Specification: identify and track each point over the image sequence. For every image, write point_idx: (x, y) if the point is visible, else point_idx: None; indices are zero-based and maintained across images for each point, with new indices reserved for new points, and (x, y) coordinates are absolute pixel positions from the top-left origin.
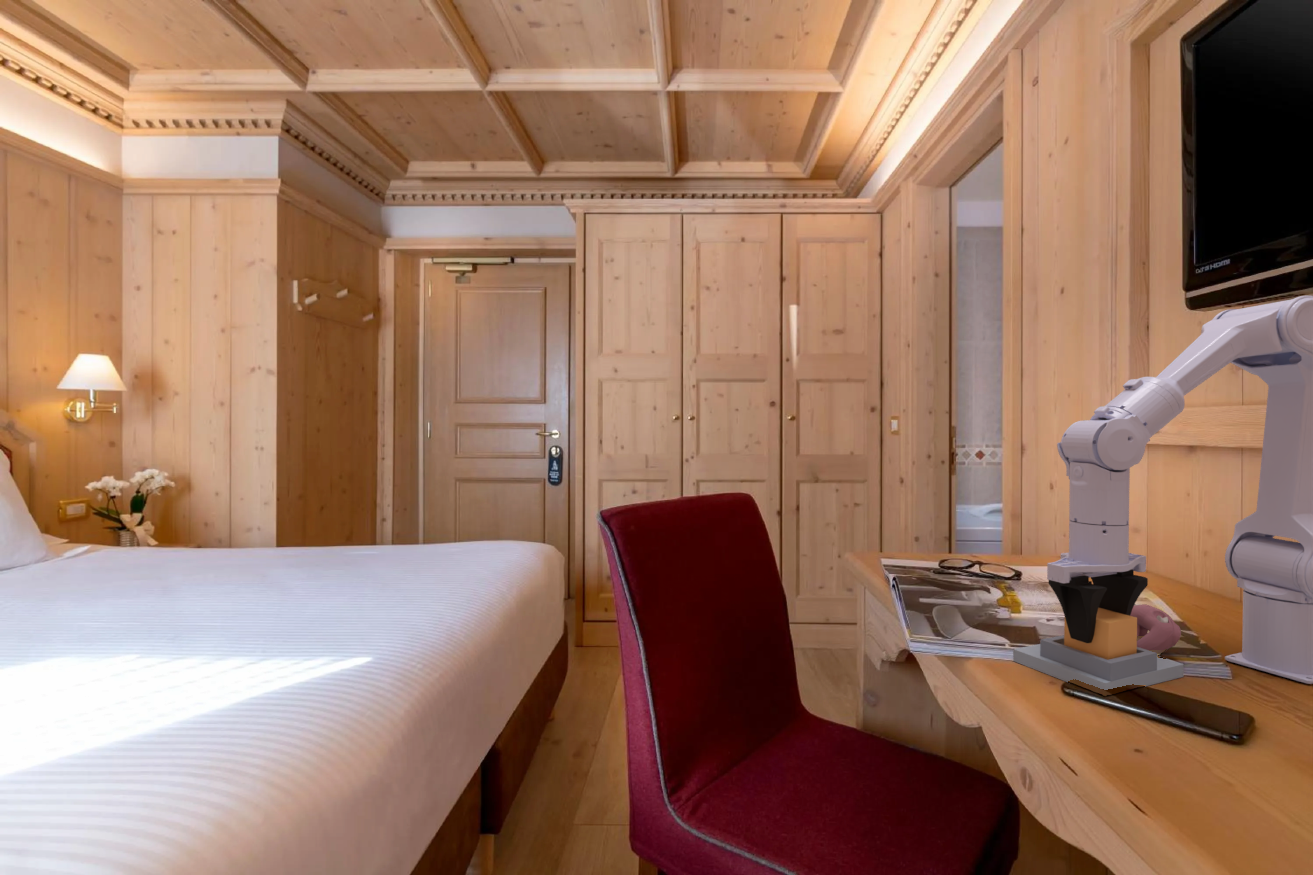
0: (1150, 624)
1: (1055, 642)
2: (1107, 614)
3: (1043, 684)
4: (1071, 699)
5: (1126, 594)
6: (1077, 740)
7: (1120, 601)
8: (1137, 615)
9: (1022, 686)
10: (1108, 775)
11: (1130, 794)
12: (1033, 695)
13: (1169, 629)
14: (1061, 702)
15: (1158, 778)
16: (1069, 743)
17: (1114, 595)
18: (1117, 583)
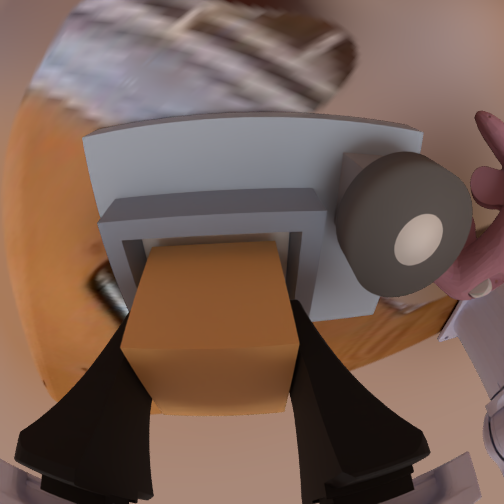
0: (467, 270)
1: (123, 253)
2: (235, 394)
3: (76, 248)
4: (86, 298)
5: (301, 454)
6: (42, 344)
7: (299, 424)
8: (501, 236)
9: (40, 243)
10: (43, 369)
11: (46, 380)
12: (41, 271)
13: (455, 297)
14: (67, 298)
15: (74, 383)
16: (34, 344)
17: (304, 433)
18: (311, 477)
